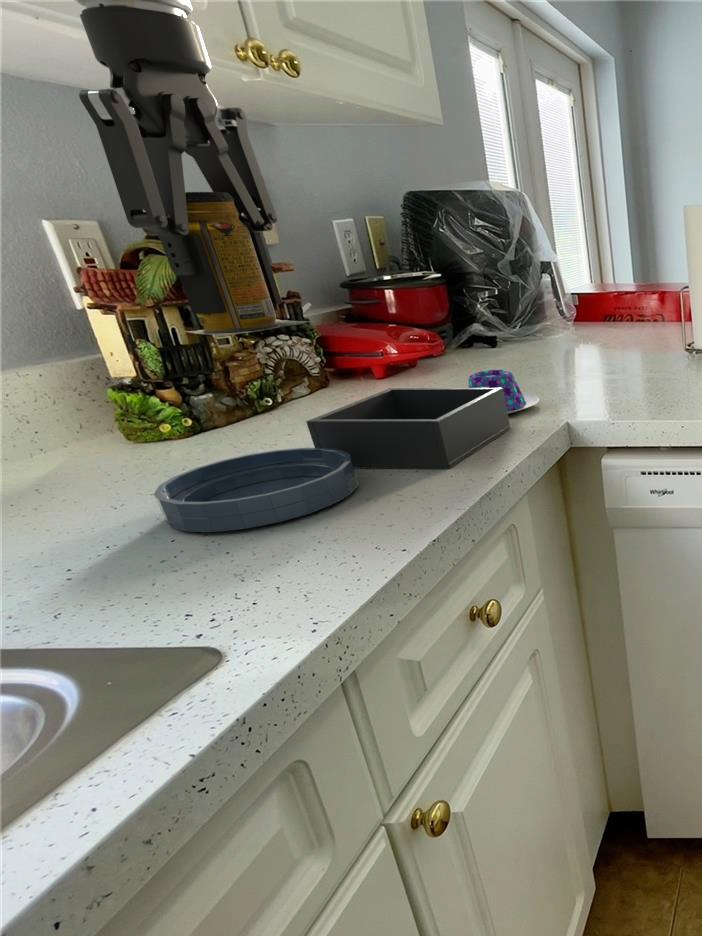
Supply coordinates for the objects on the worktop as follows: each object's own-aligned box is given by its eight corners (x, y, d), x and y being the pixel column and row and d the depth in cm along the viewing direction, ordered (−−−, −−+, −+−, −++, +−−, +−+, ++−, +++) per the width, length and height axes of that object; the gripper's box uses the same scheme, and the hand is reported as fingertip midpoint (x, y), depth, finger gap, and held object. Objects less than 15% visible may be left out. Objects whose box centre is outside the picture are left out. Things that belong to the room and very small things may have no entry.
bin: (321, 468, 82) (305, 421, 80) (400, 429, 96) (389, 388, 94) (449, 468, 81) (438, 421, 78) (510, 429, 95) (502, 387, 93)
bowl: (122, 534, 66) (107, 503, 65) (256, 474, 81) (246, 447, 79) (285, 537, 65) (273, 504, 63) (391, 475, 79) (383, 447, 78)
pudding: (546, 412, 102) (539, 376, 100) (455, 424, 97) (447, 387, 95) (533, 395, 112) (527, 361, 110) (450, 405, 107) (442, 370, 105)
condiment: (182, 333, 67) (129, 193, 62) (274, 321, 74) (233, 193, 69) (228, 337, 64) (176, 190, 59) (319, 324, 71) (280, 191, 66)
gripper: (59, -22, 49) (189, 323, 59) (270, 35, 66) (343, 295, 76) (-37, -17, 50) (107, 324, 59) (196, 39, 67) (278, 296, 77)
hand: (239, 307), depth 68 cm, fingers closed on condiment, 6 cm apart
